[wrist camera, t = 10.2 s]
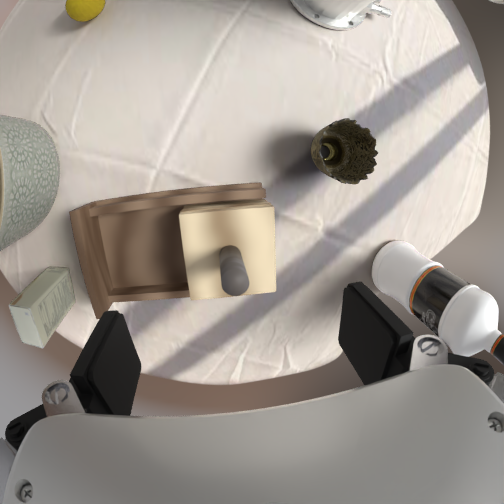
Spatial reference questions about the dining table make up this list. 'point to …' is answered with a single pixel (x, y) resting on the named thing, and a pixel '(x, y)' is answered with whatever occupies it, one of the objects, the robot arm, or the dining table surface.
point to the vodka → (439, 300)
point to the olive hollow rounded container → (345, 151)
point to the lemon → (84, 9)
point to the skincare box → (43, 306)
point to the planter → (25, 177)
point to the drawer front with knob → (229, 248)
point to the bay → (141, 242)
